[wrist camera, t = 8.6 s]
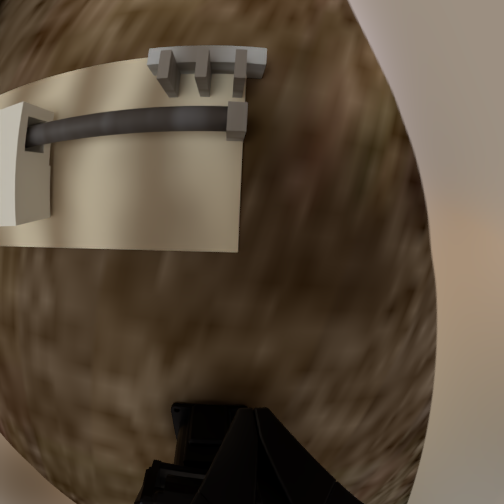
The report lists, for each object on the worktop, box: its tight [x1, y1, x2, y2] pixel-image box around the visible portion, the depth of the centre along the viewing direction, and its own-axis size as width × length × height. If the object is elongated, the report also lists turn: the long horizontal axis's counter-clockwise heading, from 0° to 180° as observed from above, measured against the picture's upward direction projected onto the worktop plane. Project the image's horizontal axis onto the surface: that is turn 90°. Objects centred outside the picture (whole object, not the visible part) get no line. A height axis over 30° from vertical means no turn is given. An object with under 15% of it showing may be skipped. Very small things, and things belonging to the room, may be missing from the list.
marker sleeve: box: [0, 102, 54, 226], centre depth 13 cm, size 4×7×4 cm, turn 177°
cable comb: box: [0, 46, 267, 252], centre depth 14 cm, size 25×13×4 cm, turn 87°
